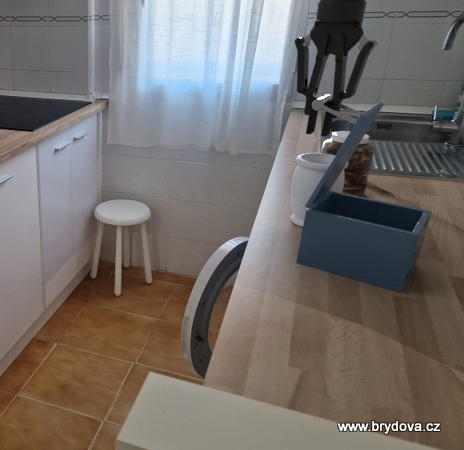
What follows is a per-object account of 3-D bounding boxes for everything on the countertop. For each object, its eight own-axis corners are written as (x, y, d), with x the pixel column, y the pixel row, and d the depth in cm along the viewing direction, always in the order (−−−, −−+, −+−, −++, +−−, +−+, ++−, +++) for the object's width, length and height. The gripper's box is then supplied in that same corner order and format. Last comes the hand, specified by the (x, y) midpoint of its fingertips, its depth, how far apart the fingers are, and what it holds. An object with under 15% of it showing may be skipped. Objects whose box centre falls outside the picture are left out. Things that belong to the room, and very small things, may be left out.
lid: (384, 103, 99) (336, 82, 103) (365, 116, 89) (313, 92, 93) (330, 189, 110) (289, 166, 114) (308, 208, 100) (263, 183, 104)
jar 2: (330, 180, 150) (341, 127, 144) (372, 192, 141) (386, 136, 135) (305, 188, 143) (315, 133, 138) (347, 201, 135) (360, 142, 129)
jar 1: (331, 235, 116) (345, 168, 110) (281, 225, 121) (292, 161, 115) (337, 219, 124) (351, 156, 118) (290, 210, 129) (301, 149, 123)
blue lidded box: (416, 264, 104) (431, 211, 99) (401, 292, 94) (418, 235, 90) (318, 239, 114) (328, 190, 110) (296, 262, 105) (306, 209, 100)
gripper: (290, -2, 94) (270, 131, 103) (387, -2, 85) (356, 144, 94) (304, -3, 99) (284, 124, 109) (397, -3, 90) (366, 136, 100)
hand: (317, 133), depth 101 cm, fingers closed on lid, 2 cm apart
